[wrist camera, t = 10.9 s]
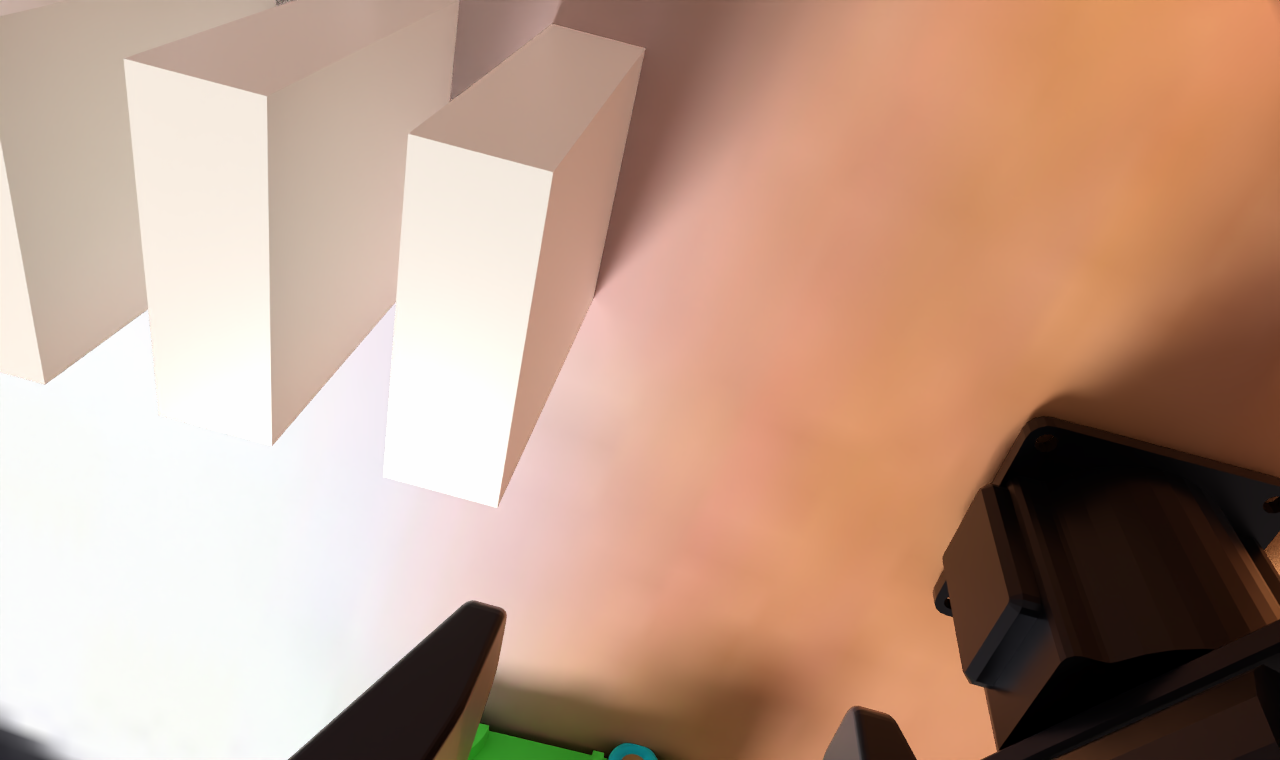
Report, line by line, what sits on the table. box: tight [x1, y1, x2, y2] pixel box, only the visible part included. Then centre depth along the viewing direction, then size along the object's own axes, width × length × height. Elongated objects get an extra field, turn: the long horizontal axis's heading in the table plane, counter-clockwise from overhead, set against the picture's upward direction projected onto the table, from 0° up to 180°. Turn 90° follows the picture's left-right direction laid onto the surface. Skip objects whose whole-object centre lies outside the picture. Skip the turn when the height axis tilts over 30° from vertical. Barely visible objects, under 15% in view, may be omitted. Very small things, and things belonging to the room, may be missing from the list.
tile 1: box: [383, 24, 646, 508], centre depth 17 cm, size 2×6×8 cm, turn 168°
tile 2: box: [124, 0, 460, 446], centre depth 17 cm, size 2×6×8 cm, turn 169°
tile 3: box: [0, 0, 276, 385], centre depth 17 cm, size 2×6×8 cm, turn 169°
